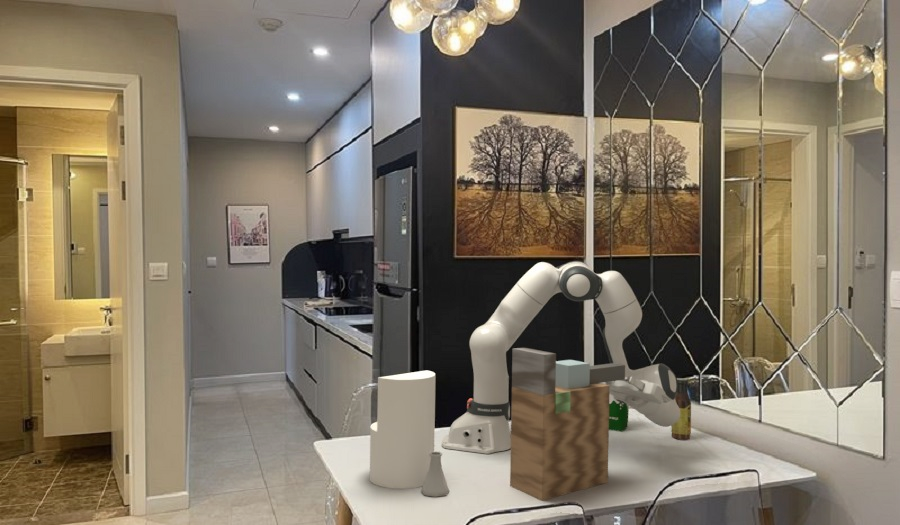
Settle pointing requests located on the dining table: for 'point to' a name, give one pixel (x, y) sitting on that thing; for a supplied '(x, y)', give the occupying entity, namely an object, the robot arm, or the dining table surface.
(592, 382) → the mallet
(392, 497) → the dining table surface
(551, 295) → the robot arm
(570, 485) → the wood grain block
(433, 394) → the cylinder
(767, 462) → the dining table surface
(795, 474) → the dining table surface
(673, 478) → the dining table surface
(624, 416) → the milk carton
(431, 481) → the flask
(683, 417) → the sauce bottle
